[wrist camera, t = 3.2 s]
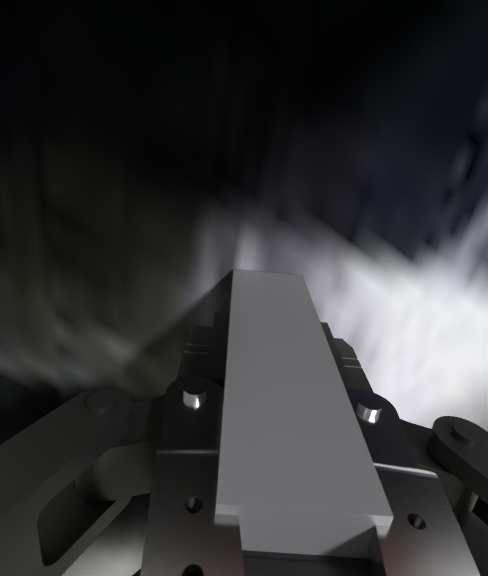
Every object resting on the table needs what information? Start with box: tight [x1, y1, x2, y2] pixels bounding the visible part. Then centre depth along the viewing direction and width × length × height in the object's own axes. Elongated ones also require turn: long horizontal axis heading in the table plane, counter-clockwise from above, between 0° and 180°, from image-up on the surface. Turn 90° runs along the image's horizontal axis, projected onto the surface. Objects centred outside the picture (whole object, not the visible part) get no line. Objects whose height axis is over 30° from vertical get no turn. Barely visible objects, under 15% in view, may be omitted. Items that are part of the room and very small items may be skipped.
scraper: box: [215, 269, 394, 559], centre depth 12 cm, size 6×16×9 cm, turn 174°
